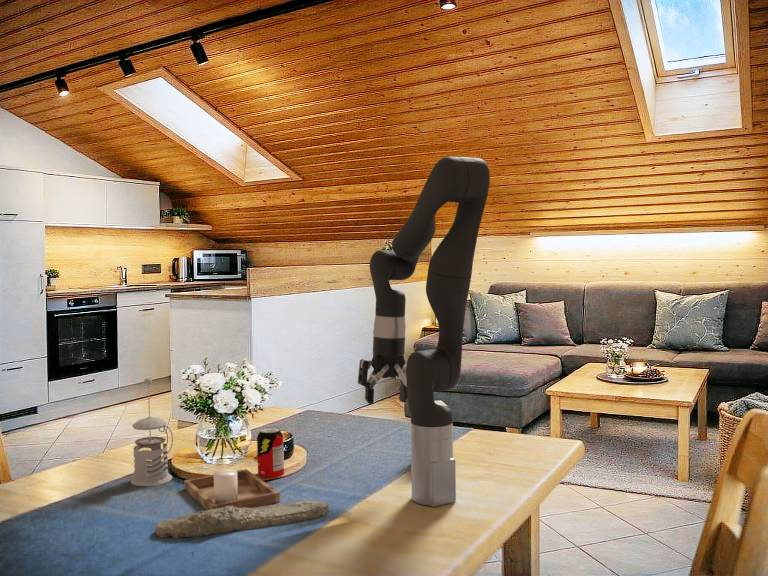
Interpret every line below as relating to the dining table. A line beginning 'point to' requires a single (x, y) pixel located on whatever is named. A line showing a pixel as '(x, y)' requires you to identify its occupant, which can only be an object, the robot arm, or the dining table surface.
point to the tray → (249, 491)
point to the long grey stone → (239, 518)
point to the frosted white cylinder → (225, 486)
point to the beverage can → (270, 452)
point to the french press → (151, 452)
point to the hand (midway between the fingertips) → (386, 402)
